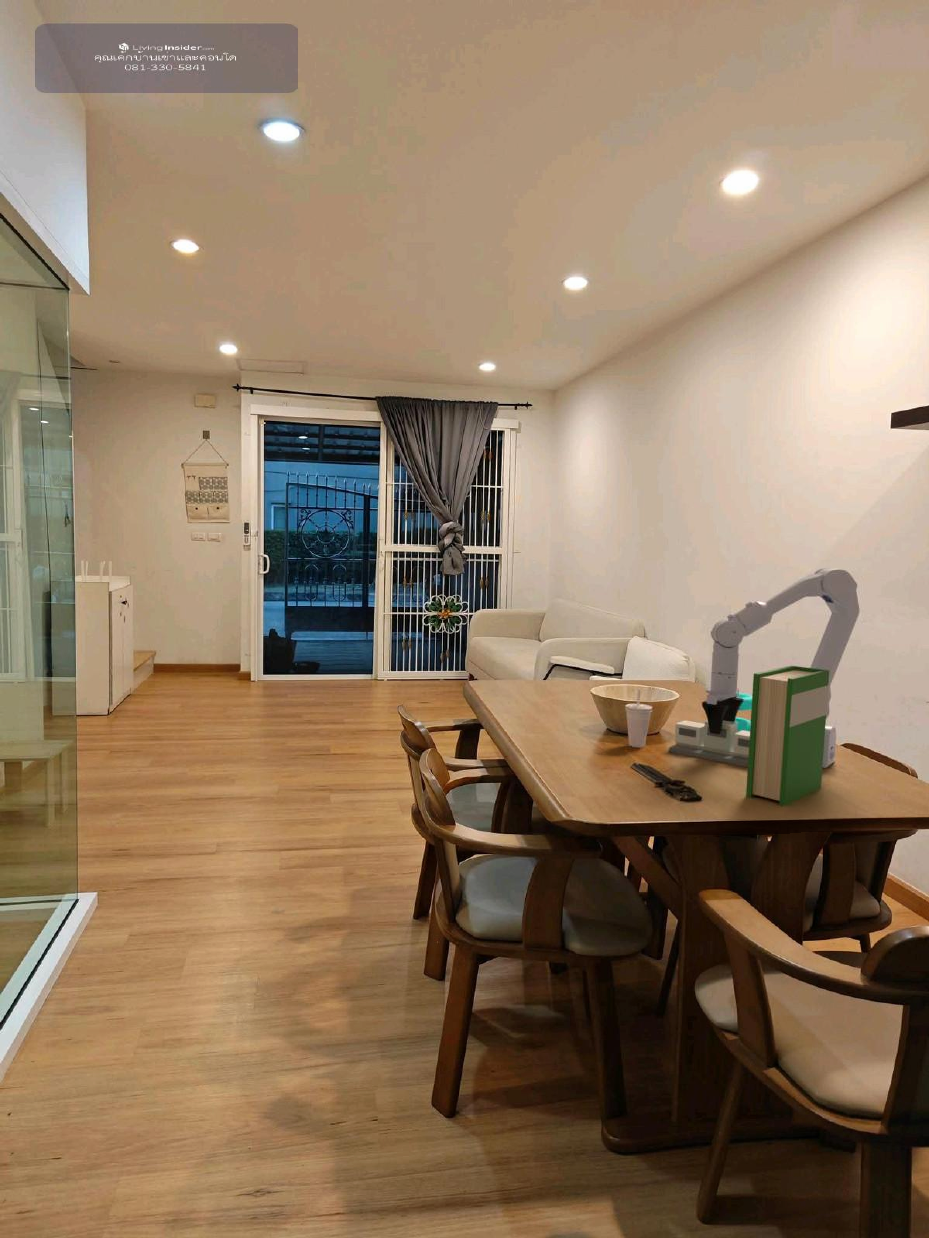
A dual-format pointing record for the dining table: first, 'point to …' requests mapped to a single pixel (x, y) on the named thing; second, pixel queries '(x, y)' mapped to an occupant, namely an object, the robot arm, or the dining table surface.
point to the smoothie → (638, 722)
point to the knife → (657, 778)
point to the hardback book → (787, 733)
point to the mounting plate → (692, 742)
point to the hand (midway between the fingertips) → (721, 730)
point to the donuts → (746, 705)
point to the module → (721, 737)
